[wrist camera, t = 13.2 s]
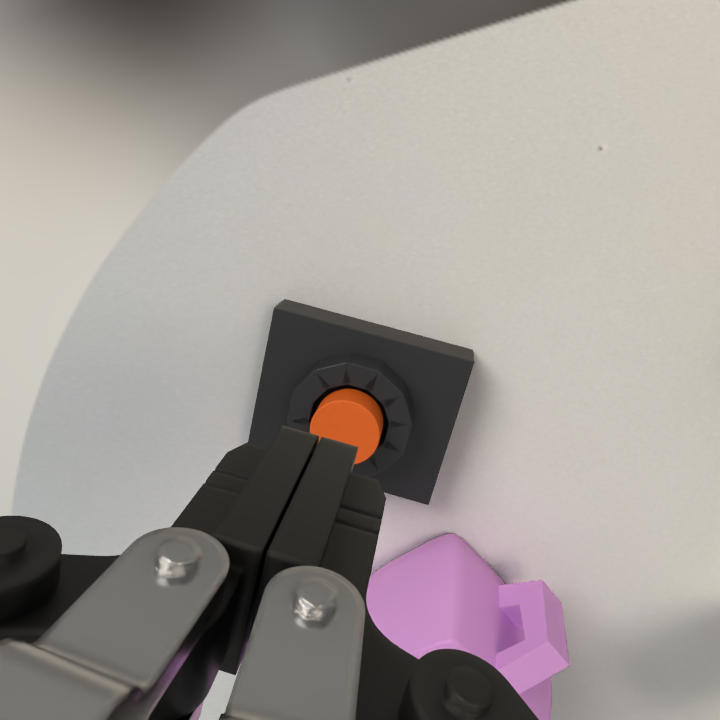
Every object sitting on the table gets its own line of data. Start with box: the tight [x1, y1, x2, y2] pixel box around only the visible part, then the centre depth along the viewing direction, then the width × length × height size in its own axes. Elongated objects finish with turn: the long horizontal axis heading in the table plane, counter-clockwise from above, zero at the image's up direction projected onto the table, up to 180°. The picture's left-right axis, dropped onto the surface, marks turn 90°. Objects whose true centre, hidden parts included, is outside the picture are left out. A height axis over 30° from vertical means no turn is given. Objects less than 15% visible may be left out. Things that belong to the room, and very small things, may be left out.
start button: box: [310, 389, 383, 464], centre depth 31 cm, size 4×4×2 cm
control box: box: [248, 299, 474, 505], centre depth 34 cm, size 11×9×4 cm
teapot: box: [366, 533, 570, 720], centre depth 35 cm, size 18×10×10 cm, turn 132°
